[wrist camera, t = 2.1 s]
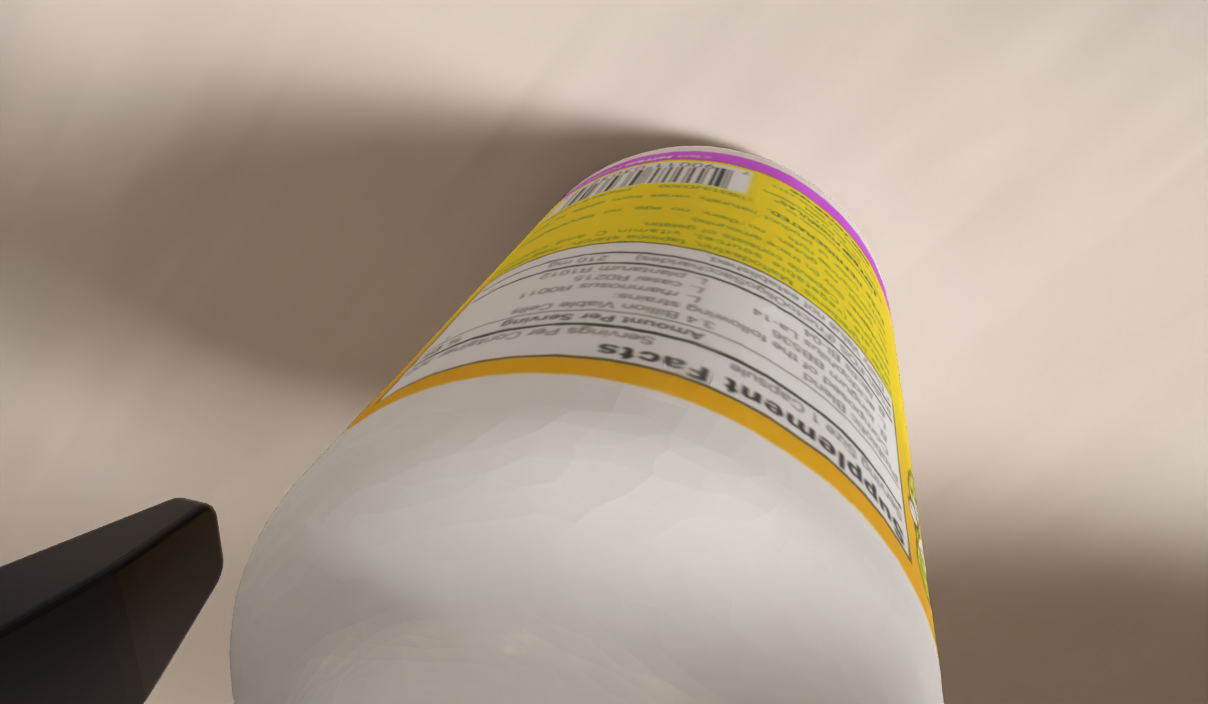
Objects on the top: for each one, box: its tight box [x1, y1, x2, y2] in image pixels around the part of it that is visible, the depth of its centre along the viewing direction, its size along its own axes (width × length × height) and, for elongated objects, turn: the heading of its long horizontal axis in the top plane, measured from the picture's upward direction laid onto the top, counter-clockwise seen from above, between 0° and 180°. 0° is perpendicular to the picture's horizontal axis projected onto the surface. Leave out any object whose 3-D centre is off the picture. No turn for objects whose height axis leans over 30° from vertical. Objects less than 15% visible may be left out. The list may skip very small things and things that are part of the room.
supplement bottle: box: [230, 146, 944, 704], centre depth 11 cm, size 7×7×13 cm
